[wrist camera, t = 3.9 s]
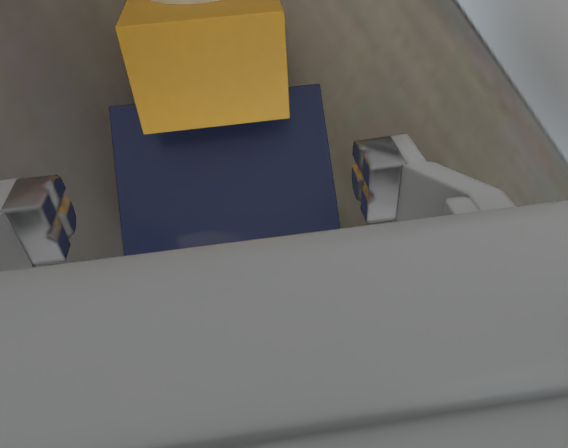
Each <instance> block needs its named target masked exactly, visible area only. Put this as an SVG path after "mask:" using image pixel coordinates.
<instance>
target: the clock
mask: <svg viewBox="0 0 568 448" xmlns="http://www.w3.org/2000/svg"><path fill="white" fill-rule="evenodd" d="M115 29H116V33H117V37H118V41H119V44H120V48H121V52H122V56H123V59H124V63H125V67H126V71H127V74H128V78H129V82H130V86H131V89H132V93H133V97H134V101H135V104H136V108H137V112H138V116H139V119H140V123H141V127H142V131H143V134H154V133H163V132H172V131H180V130H189V129H198V128H207V127H216V126H225V125H234V124H243V123H252V122H261V121H270V120H279V119H288V118H290V109H289V90H288V70H287V51H286V32H285V12H284V10H283V7H282V5H281V3H280V1H279V0H127V1H126V3H125V6H124V8H123V10H122V13H121V15H120V17H119V20H118V22H117V24H116V27H115Z"/></svg>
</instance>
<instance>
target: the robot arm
mask: <svg viewBox="0 0 568 448" xmlns="http://www.w3.org/2000/svg"><path fill="white" fill-rule="evenodd" d="M353 156H354V159H355V161H356V164H355V165H354V166H353V168H352V183H353V190H354V194H355V196H356V199H357V200H359V201H361V211H362V213H363V215H364V218H365V220H366V222H367V223H371V222H381V221H391V220H396V221H397V222H389V223H381V224H373V225H366V226H358V227H350V228H342V229H334V230H326V231H318V232H310V233H302V234H294V235H286V236H279V237H271V238H263V239H255V240H247V241H239V242H231V243H223V244H215V245H207V246H199V247H191V248H183V249H176V250H168V251H160V252H152V253H144V254H136V255H128V256H120V257H112V258H104V259H96V260H88V261H80V262H72V263H64V264H56V265H48V266H41V267H33V266H35V265H41V264H48V263H54V262H61V261H65V260H66V257H67V254H68V251H69V248H70V245H71V244H70V242H69V240H68V238H69V237H71V236H72V235H73V234H74V232H75V228H76V215H75V211H74V207H73V205H72V202H71V201H70V200H69V199H67V198H66V197H64V196H63V194H64V191H65V186H64V183H63V181H62V179H61V177H59V176H58V175H48V176H37V177H27V178H20V179H19V178H15V179H7V180H1V181H0V448H568V200H564V201H556V202H548V203H540V204H532V205H524V206H515V205H514V203H513V202H512V201H511V200H510V199H509V197H508V196H507V195H506V194H505V193H504V191H503V190H500V189H498V188H496V187H493V186H491V185H488V184H486V183H483V182H481V181H479V180H476V179H474V178H471V177H469V176H467V175H464V174H462V173H459V172H457V171H454V170H452V169H450V168H447V167H445V166H442V165H440V164H437V163H435V162H433V161H430V162H427V161H426V160H425V158H424V157H423V155H422V154H421V152H420V151H419V150H418V148H417V147H416V145H415V144H414V142H413V141H412V139H411V138H410V137H409V135H408V134H400V135H394V136H386V137H379V138H372V139H365V140H358V141H354V145H353Z"/></svg>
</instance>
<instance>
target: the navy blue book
mask: <svg viewBox="0 0 568 448" xmlns="http://www.w3.org/2000/svg"><path fill="white" fill-rule="evenodd" d="M288 90H289V109H290V118H288V119H279V120H270V121H261V122H252V123H243V124H234V125H225V126H216V127H207V128H198V129H189V130H180V131H172V132H163V133H154V134H143V131H142V127H141V123H140V119H139V116H138V112H137V108H136V104H127V105H118V106H110V107H109V111H110V121H111V131H112V141H113V151H114V161H115V171H116V181H117V191H118V201H119V211H120V221H121V231H122V241H123V251H124V256H128V255H136V254H144V253H152V252H160V251H168V250H176V249H183V248H191V247H199V246H207V245H215V244H223V243H231V242H239V241H247V240H255V239H263V238H271V237H279V236H286V235H294V234H302V233H310V232H318V231H326V230H334V229H340V222H339V215H338V208H337V201H336V194H335V187H334V180H333V173H332V166H331V159H330V152H329V145H328V138H327V131H326V124H325V118H324V111H323V104H322V97H321V90H320V84H313V85H304V86H294V87H288Z"/></svg>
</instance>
